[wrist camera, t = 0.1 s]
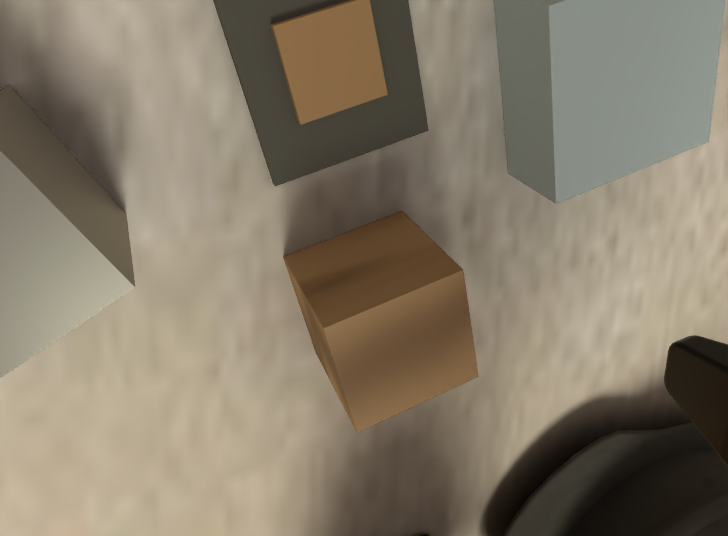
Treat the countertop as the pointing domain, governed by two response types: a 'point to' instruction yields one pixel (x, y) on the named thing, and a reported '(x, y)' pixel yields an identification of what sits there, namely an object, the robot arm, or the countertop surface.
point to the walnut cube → (385, 317)
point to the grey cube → (52, 238)
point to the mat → (324, 78)
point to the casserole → (632, 489)
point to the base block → (603, 86)
